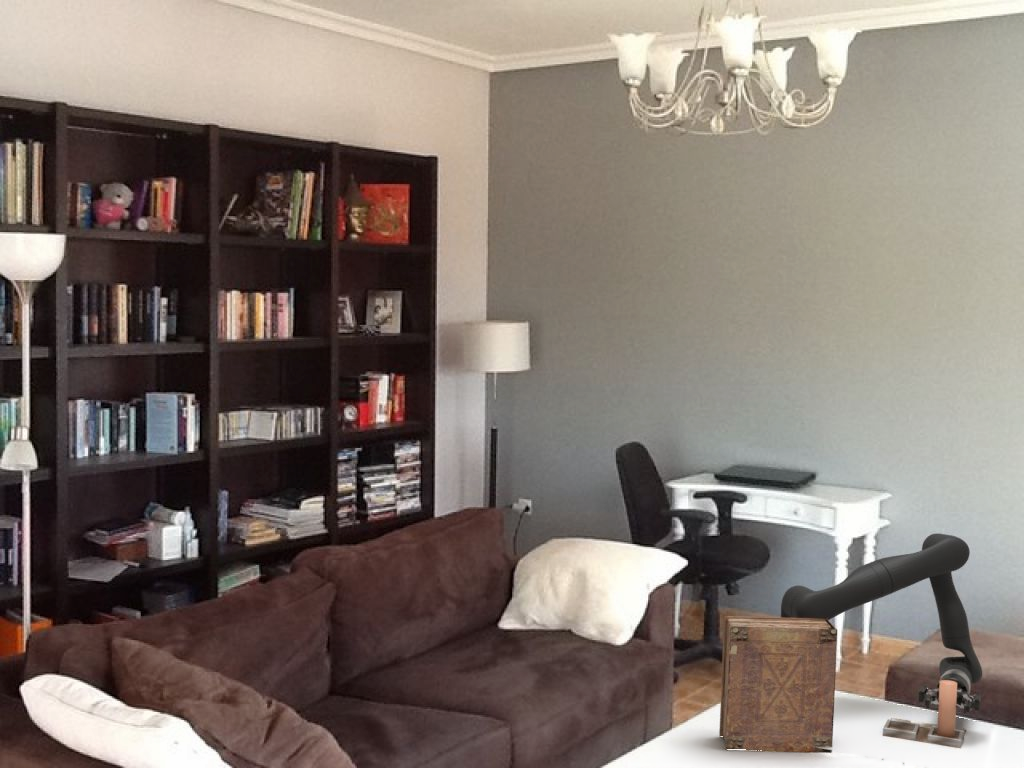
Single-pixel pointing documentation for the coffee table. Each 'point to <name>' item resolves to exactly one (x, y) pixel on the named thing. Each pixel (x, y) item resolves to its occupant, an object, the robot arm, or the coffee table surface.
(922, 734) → the walnut socket board
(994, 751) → the coffee table surface
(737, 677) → the book
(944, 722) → the terracotta pin
